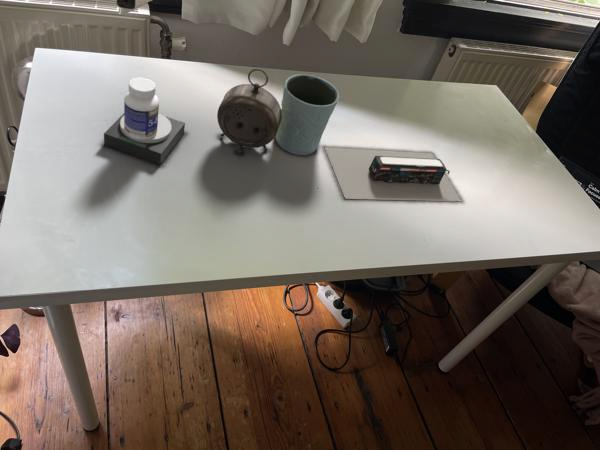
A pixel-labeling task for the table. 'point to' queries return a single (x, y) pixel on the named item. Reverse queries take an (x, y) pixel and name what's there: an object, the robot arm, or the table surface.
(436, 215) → the table surface
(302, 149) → the teal ceramic cup
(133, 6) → the robot arm
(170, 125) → the scale
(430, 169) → the grey flat tray
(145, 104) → the pill bottle
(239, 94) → the alarm clock
